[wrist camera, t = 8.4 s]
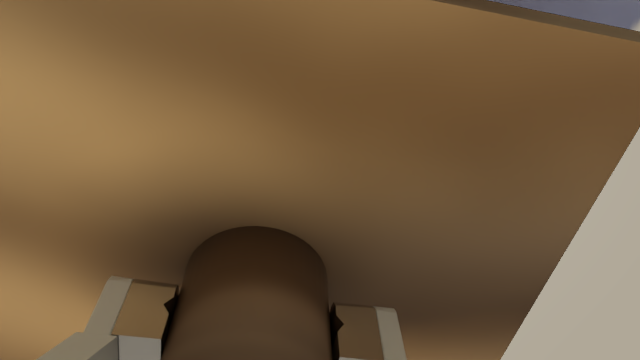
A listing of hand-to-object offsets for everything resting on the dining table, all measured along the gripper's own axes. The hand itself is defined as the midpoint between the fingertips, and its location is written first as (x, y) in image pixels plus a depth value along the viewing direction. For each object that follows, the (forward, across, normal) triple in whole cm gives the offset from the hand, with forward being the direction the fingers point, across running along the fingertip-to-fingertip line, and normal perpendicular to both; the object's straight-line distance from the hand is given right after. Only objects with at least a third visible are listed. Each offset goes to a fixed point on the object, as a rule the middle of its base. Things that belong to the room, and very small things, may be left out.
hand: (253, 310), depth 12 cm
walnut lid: (+2, 0, 0) cm, 2 cm away
